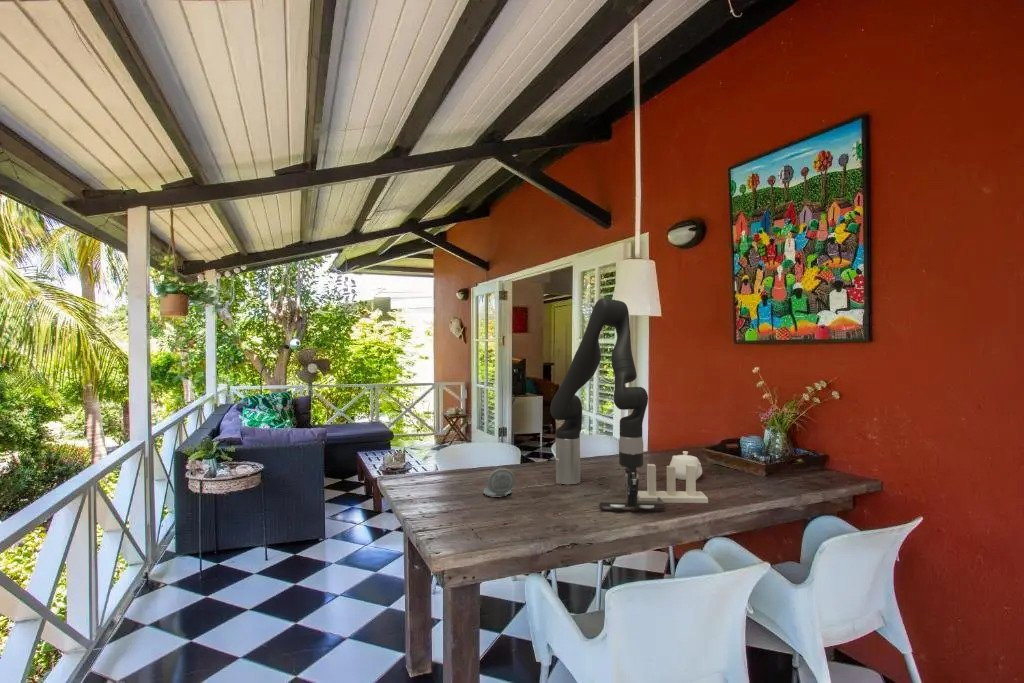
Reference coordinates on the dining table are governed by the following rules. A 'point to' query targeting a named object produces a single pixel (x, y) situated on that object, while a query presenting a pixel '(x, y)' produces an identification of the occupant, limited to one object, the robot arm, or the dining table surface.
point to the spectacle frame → (626, 503)
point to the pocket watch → (500, 483)
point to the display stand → (672, 487)
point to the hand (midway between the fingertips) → (631, 504)
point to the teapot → (681, 463)
